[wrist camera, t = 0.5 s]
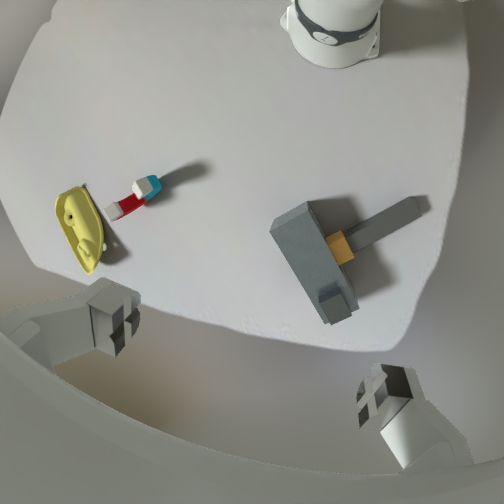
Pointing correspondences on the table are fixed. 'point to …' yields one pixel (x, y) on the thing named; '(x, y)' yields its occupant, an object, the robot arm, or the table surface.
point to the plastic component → (81, 226)
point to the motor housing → (314, 263)
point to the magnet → (134, 198)
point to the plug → (372, 229)
